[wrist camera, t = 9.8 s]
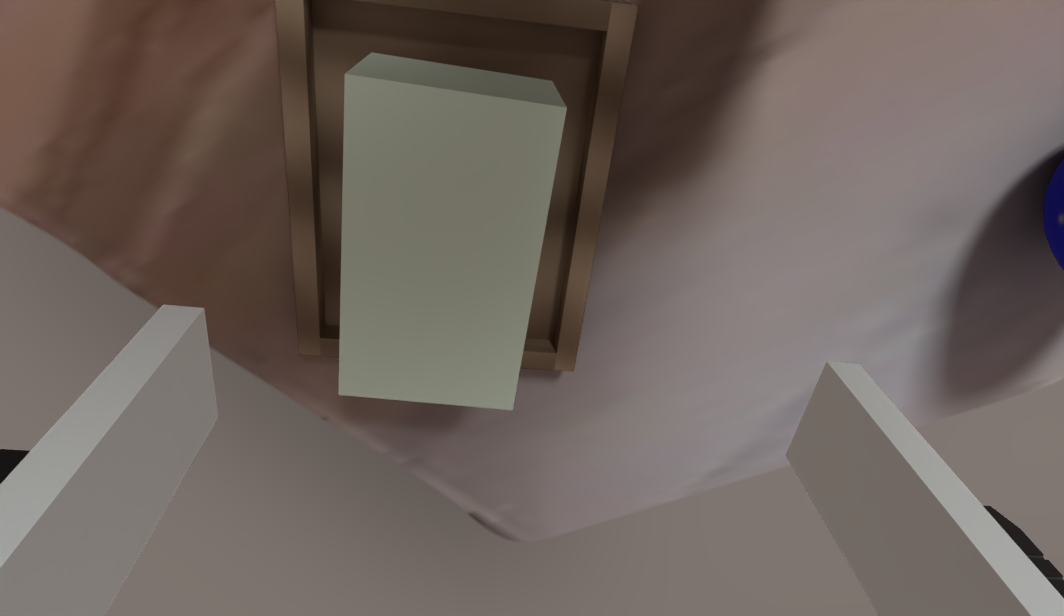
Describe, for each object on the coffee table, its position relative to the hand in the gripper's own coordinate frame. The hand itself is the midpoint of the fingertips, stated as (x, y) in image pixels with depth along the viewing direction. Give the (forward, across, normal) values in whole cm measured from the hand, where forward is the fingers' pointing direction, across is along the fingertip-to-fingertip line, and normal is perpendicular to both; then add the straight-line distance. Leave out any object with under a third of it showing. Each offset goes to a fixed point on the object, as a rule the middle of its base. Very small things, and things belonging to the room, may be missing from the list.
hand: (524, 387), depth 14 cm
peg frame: (+22, -2, -4) cm, 23 cm away
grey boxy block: (+19, -2, -4) cm, 19 cm away
